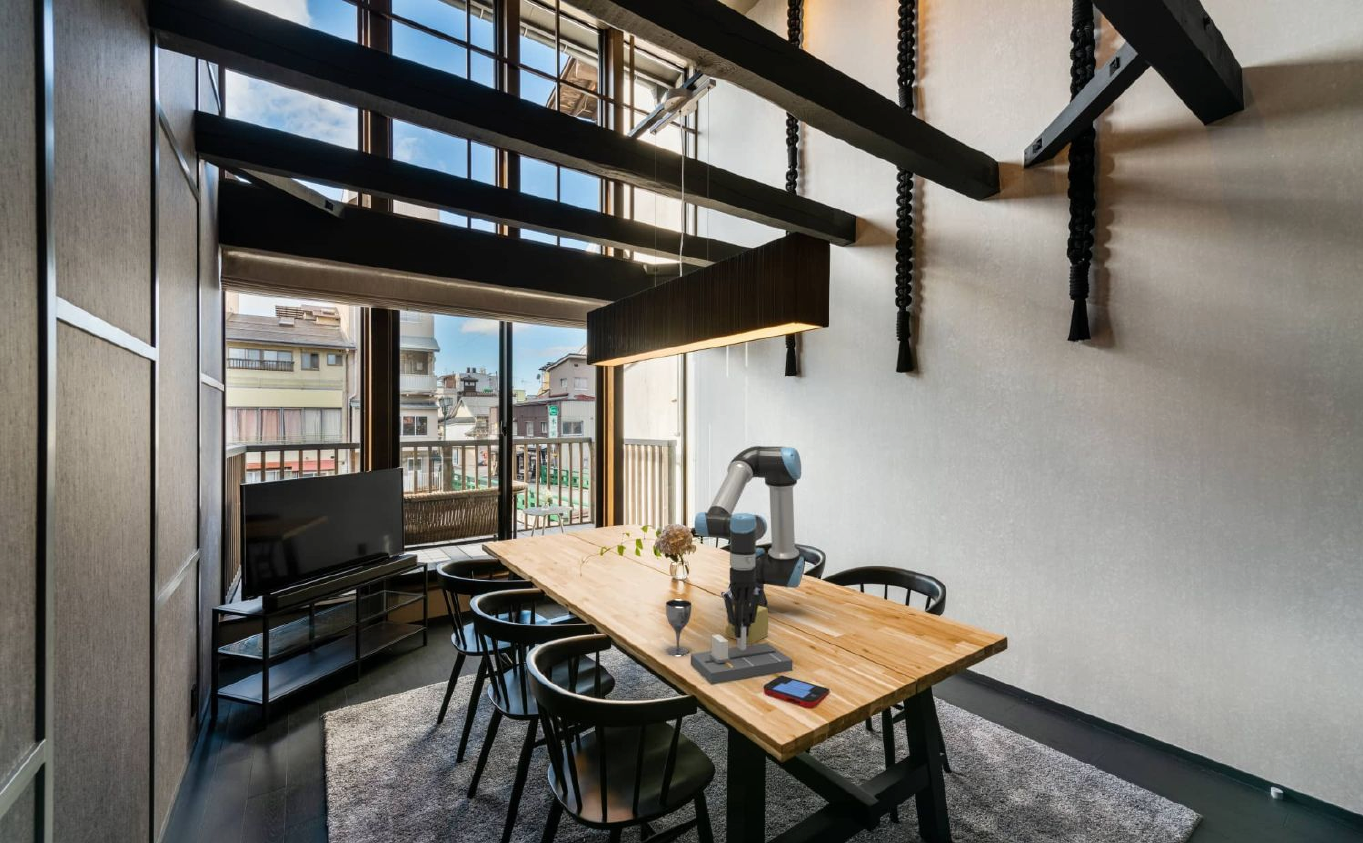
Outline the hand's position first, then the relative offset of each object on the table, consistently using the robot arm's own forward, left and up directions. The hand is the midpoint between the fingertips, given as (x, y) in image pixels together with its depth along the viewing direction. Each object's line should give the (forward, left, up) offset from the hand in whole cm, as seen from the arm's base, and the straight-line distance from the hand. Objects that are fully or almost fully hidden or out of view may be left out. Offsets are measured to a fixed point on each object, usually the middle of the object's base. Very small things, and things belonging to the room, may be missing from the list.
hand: (741, 647), depth 163 cm
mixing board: (0, 0, -6) cm, 6 cm away
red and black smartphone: (-6, +19, -6) cm, 21 cm away
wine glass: (+13, -17, -6) cm, 22 cm away
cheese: (-14, -21, -6) cm, 26 cm away
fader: (+7, 0, -2) cm, 8 cm away
